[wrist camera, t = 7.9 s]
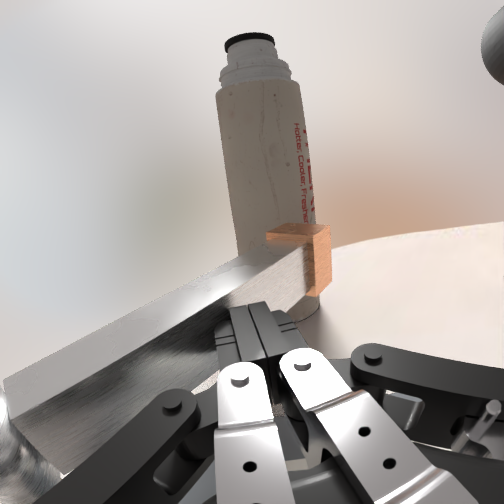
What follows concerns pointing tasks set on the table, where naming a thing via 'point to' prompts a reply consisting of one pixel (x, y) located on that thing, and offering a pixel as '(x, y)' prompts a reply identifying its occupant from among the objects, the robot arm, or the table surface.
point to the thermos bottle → (264, 146)
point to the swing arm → (142, 359)
